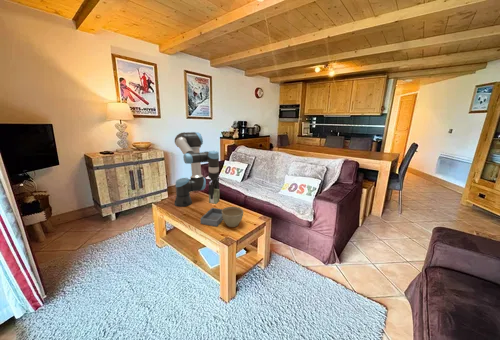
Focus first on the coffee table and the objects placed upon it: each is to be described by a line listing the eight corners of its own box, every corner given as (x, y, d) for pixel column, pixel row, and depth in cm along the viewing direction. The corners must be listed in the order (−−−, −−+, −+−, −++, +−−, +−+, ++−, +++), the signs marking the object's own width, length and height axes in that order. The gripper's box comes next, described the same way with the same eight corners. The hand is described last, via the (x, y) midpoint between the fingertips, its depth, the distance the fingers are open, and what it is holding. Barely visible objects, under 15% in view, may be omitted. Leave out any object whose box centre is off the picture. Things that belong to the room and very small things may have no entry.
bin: (212, 212, 170) (212, 207, 169) (227, 215, 167) (227, 210, 166) (200, 223, 152) (200, 218, 151) (217, 226, 149) (217, 221, 147)
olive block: (212, 200, 159) (212, 188, 157) (219, 201, 158) (219, 189, 155) (208, 203, 154) (208, 190, 151) (216, 204, 152) (216, 191, 150)
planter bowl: (235, 232, 142) (235, 218, 140) (217, 225, 150) (217, 212, 147) (247, 222, 156) (247, 209, 153) (229, 217, 164) (229, 204, 161)
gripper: (212, 175, 140) (213, 206, 146) (223, 169, 158) (223, 197, 163) (202, 174, 142) (203, 205, 148) (214, 168, 160) (215, 196, 165)
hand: (214, 200), depth 156 cm, fingers closed on olive block, 6 cm apart
